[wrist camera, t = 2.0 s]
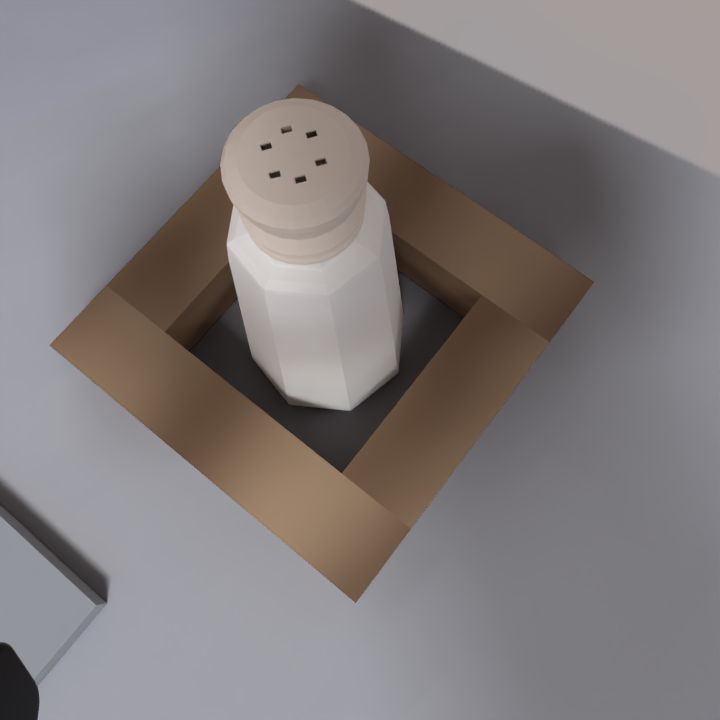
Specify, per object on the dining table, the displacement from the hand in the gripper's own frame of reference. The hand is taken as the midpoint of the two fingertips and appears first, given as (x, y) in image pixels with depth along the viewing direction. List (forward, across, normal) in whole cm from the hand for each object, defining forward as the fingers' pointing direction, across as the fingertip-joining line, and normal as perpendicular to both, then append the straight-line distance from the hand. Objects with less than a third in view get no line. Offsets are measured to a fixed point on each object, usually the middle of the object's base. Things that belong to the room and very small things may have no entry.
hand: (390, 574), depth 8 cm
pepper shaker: (+15, 0, +4) cm, 15 cm away
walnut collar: (+15, 0, +4) cm, 15 cm away
